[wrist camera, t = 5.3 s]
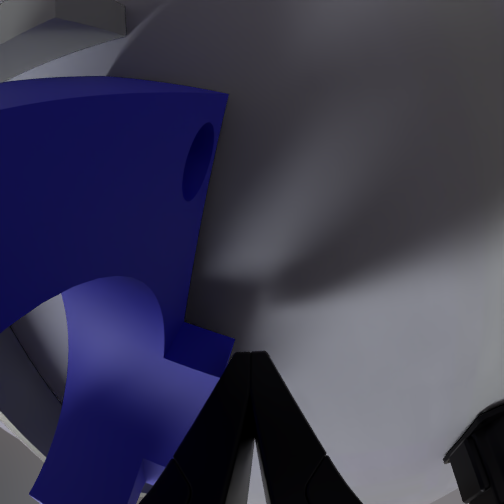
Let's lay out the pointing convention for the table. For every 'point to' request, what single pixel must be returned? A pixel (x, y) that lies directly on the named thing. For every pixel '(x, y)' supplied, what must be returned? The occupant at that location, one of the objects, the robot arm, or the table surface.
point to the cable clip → (111, 267)
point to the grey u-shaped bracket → (3, 68)
